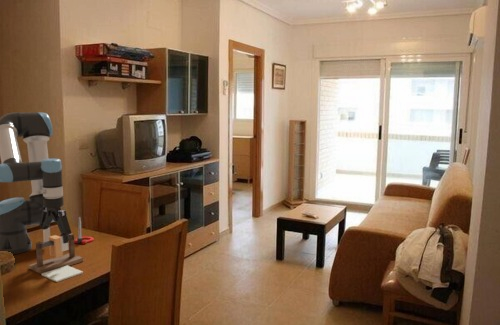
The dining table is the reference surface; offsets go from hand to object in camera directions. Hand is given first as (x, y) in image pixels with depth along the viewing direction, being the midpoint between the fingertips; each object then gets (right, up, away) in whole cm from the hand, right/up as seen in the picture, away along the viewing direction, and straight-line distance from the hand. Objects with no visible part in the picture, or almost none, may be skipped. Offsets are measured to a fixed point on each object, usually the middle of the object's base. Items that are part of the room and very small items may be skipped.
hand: (55, 247), depth 179 cm
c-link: (0, -4, +1) cm, 4 cm away
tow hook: (-1, -4, +32) cm, 32 cm away
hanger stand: (0, -8, +1) cm, 8 cm away
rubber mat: (+6, -9, -9) cm, 14 cm away
